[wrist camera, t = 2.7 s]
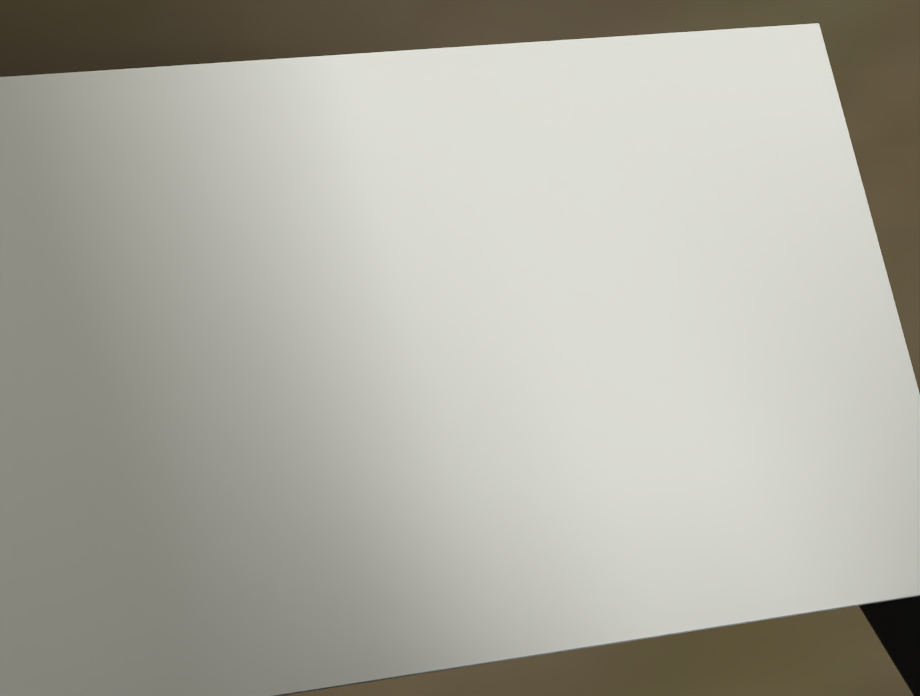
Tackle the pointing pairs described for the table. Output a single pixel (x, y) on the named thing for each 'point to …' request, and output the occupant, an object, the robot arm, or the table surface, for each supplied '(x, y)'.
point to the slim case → (438, 362)
